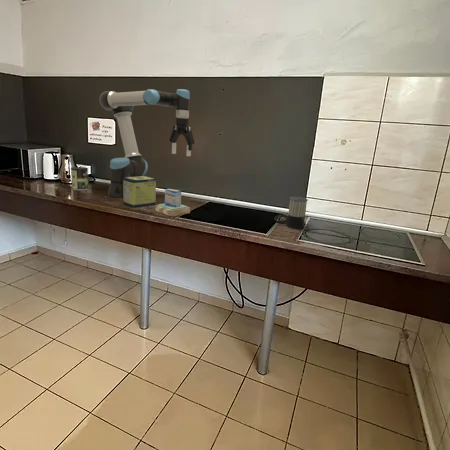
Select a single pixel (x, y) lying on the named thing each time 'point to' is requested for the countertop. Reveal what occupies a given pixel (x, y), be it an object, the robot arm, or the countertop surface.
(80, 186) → the coffee can
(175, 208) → the mat
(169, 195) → the medicine box
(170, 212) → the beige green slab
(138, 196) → the protein box
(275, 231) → the countertop surface
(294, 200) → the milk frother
